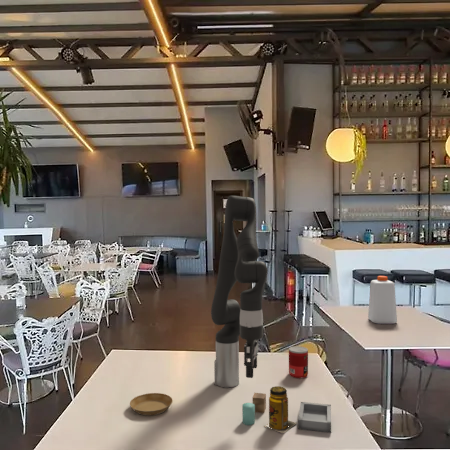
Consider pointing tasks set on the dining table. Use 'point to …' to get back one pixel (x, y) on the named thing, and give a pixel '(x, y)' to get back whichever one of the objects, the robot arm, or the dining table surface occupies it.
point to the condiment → (279, 410)
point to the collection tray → (315, 417)
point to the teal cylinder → (248, 413)
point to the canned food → (298, 362)
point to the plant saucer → (151, 403)
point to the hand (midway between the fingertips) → (251, 372)
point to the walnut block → (259, 402)
